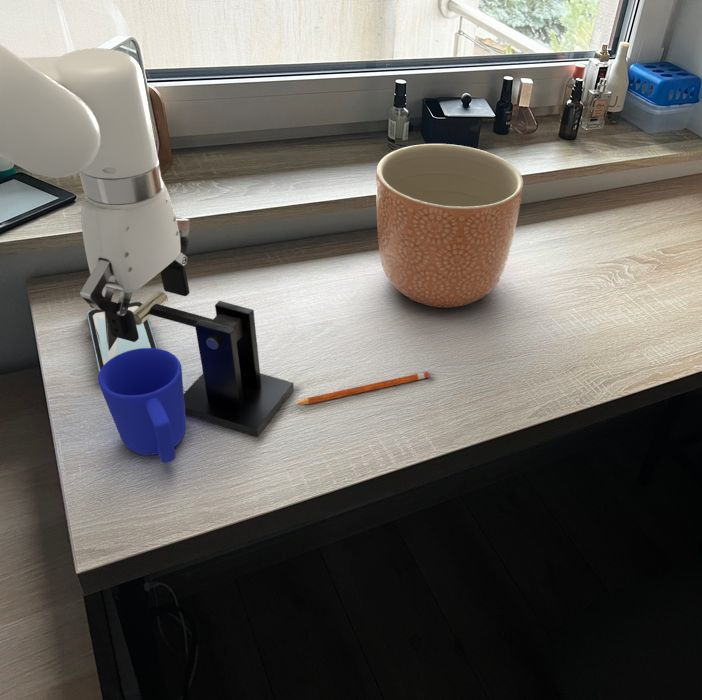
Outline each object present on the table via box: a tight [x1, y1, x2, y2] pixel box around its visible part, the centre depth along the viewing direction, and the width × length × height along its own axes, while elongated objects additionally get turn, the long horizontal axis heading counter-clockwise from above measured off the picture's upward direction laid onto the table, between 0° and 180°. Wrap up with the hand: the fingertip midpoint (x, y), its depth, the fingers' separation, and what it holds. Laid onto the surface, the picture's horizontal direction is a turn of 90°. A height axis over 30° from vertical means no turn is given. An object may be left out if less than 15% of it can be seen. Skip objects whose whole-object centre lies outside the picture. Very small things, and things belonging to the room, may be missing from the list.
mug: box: [97, 348, 187, 464], centre depth 79 cm, size 8×12×10 cm
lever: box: [133, 291, 243, 342], centre depth 83 cm, size 12×5×2 cm, turn 73°
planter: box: [375, 143, 525, 309], centre depth 107 cm, size 21×21×19 cm
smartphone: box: [86, 300, 159, 373], centre depth 95 cm, size 7×1×15 cm
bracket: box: [184, 300, 295, 437], centre depth 85 cm, size 11×9×13 cm
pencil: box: [294, 371, 430, 405], centre depth 92 cm, size 1×18×1 cm, turn 115°
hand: (152, 314), depth 85 cm, fingers open, 9 cm apart
